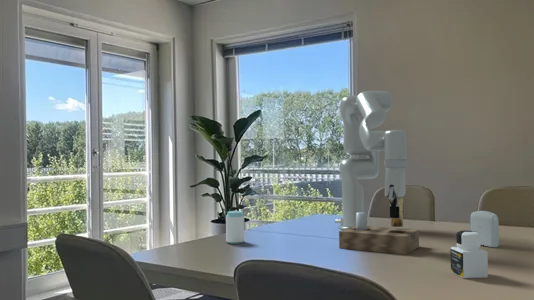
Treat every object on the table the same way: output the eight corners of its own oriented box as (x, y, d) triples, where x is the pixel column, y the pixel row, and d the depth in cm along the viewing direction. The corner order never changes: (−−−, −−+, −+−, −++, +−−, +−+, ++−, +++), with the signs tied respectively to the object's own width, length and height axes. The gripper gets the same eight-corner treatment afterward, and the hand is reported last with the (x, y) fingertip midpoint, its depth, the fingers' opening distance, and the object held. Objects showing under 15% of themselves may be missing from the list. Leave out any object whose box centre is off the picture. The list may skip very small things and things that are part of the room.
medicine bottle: (450, 272, 134) (449, 229, 134) (474, 271, 134) (473, 228, 134) (462, 278, 126) (462, 233, 127) (488, 277, 127) (487, 233, 127)
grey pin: (354, 240, 173) (354, 213, 173) (358, 238, 176) (358, 212, 177) (365, 241, 171) (364, 213, 171) (369, 239, 174) (368, 212, 174)
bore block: (339, 248, 170) (339, 231, 170) (355, 240, 183) (355, 225, 183) (406, 254, 157) (406, 236, 157) (419, 246, 171) (418, 229, 171)
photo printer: (468, 243, 175) (468, 210, 175) (476, 242, 177) (476, 209, 177) (492, 248, 166) (492, 212, 166) (501, 247, 168) (500, 212, 168)
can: (247, 241, 186) (247, 210, 186) (239, 244, 179) (238, 212, 180) (231, 240, 189) (231, 210, 189) (222, 243, 182) (222, 212, 183)
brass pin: (389, 226, 166) (389, 197, 166) (393, 224, 170) (392, 196, 170) (401, 227, 164) (400, 198, 164) (404, 225, 168) (403, 197, 168)
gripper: (392, 164, 176) (393, 213, 176) (377, 165, 162) (378, 219, 162) (412, 164, 172) (413, 215, 172) (399, 165, 158) (400, 220, 158)
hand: (396, 216), depth 167 cm, fingers closed on brass pin, 4 cm apart
